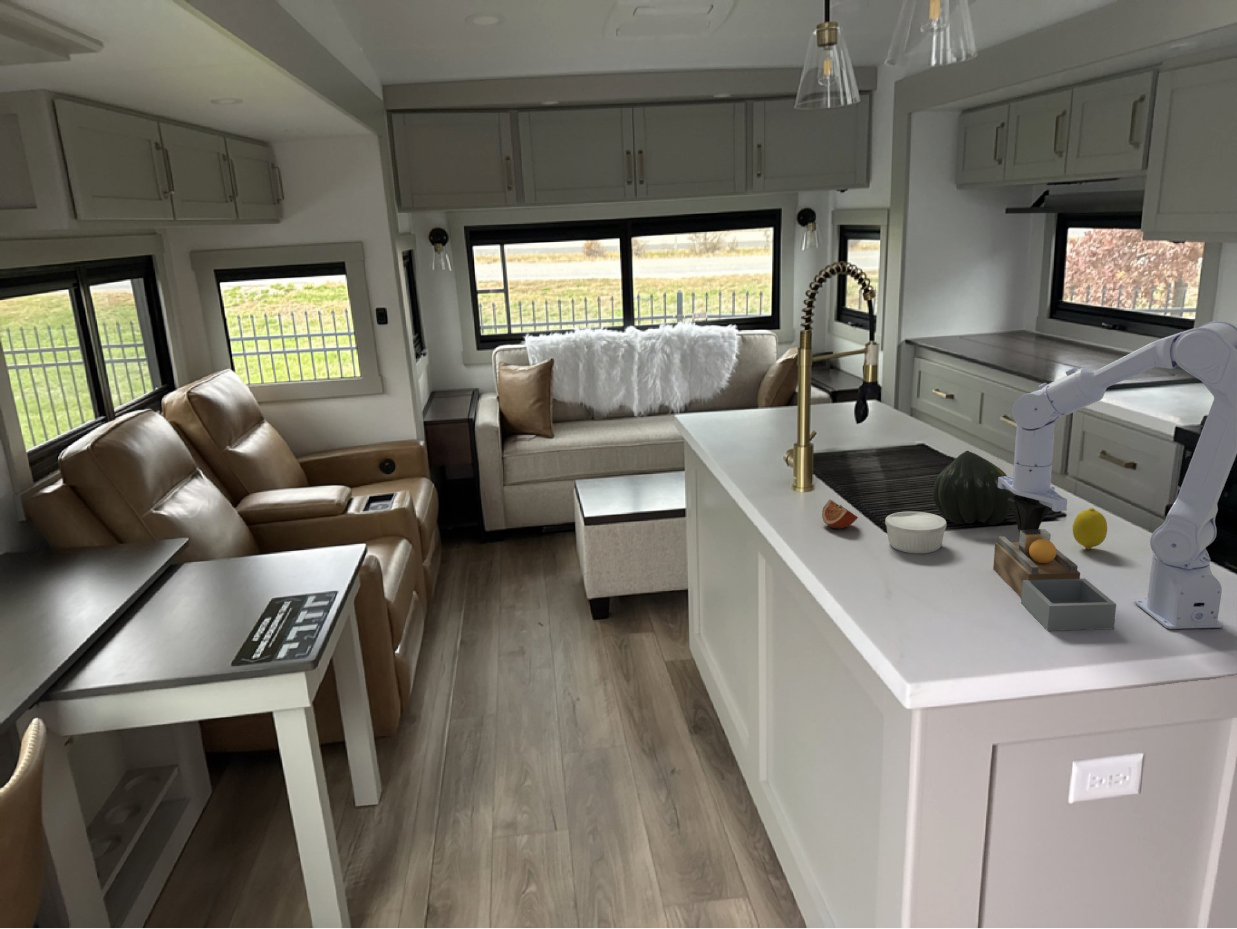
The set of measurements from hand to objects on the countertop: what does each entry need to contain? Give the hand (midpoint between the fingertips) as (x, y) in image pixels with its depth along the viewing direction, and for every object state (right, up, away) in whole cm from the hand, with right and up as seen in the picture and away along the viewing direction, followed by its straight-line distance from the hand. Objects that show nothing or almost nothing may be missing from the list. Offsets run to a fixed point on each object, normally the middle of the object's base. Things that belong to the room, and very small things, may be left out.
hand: (1027, 538), depth 141 cm
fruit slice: (-24, 0, +31) cm, 39 cm away
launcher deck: (0, -8, -2) cm, 8 cm away
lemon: (+17, -3, +12) cm, 21 cm away
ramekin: (-13, -3, +19) cm, 23 cm away
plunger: (0, -2, -2) cm, 3 cm away
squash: (+3, +1, +30) cm, 30 cm away
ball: (0, -1, -6) cm, 6 cm away
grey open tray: (0, -11, -13) cm, 17 cm away
